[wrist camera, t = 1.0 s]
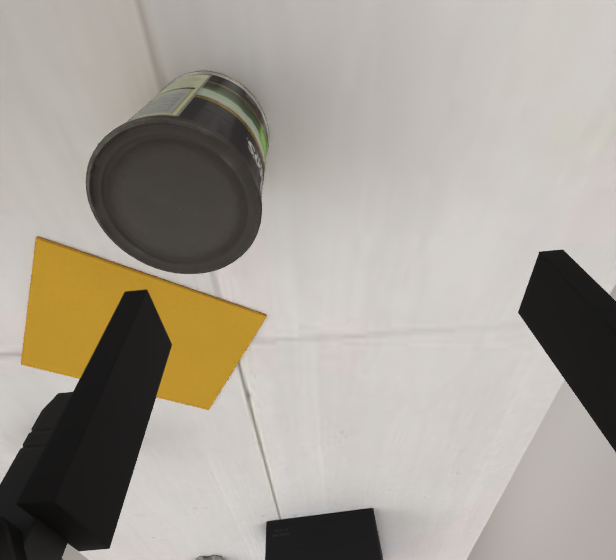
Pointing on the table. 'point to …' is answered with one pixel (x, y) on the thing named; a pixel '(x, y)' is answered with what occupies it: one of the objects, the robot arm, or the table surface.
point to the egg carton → (210, 558)
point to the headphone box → (325, 537)
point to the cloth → (102, 304)
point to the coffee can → (184, 176)
